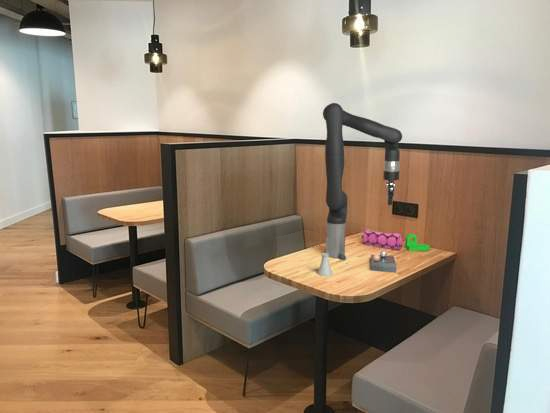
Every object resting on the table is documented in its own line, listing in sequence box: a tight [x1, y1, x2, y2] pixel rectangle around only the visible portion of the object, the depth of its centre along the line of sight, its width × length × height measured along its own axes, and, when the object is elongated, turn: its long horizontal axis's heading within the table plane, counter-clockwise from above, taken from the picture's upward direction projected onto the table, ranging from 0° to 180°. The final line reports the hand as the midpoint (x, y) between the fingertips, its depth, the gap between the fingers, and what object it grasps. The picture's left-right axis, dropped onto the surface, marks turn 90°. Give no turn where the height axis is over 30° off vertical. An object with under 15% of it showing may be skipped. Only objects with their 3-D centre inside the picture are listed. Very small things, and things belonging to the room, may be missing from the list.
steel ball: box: [379, 250, 388, 257], centre depth 213 cm, size 3×3×3 cm
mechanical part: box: [404, 233, 431, 252], centre depth 237 cm, size 12×6×8 cm, turn 94°
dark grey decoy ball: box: [339, 254, 347, 261], centre depth 216 cm, size 3×3×3 cm
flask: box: [316, 252, 333, 277], centre depth 193 cm, size 7×7×10 cm
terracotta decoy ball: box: [373, 254, 380, 261], centre depth 206 cm, size 3×3×3 cm
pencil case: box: [361, 227, 404, 251], centre depth 240 cm, size 21×10×10 cm, turn 59°
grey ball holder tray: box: [370, 254, 398, 273], centre depth 208 cm, size 11×18×4 cm, turn 169°
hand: (389, 204), depth 218 cm, fingers closed
